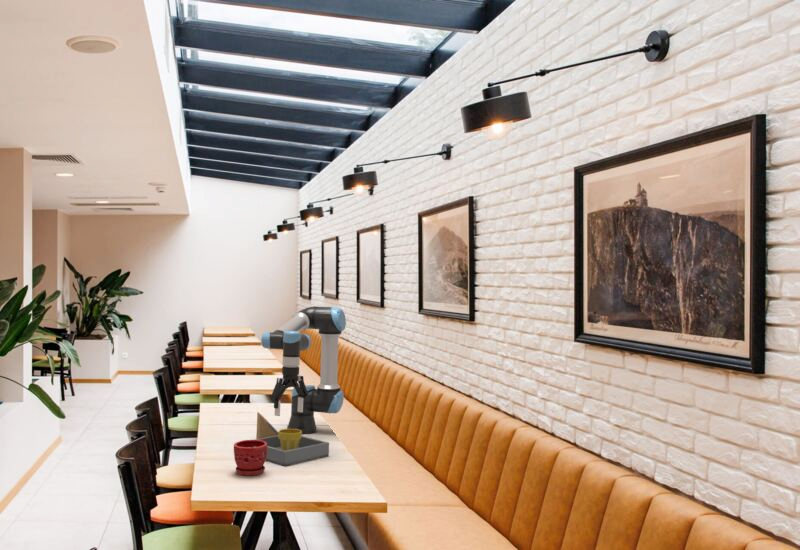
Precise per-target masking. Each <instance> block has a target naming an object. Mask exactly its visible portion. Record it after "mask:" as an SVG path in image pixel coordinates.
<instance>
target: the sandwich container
mask: <svg viewBox="0 0 800 550" xmlns="http://www.w3.org/2000/svg"><path fill="white" fill-rule="evenodd" d="M256 413H257V414H256V415H257V416H256V417H257V418H256V437H255V439H260V438H266V437H271V436H276V435H278V431H279V430H277V429H276V428H275V427H274V426H273V425H272V424H271V423H270V422H269V421H268V420H267V419H266V418H265V417H264V416H263V415H262V414H261V413H260V412H259V411H257V412H256Z"/></svg>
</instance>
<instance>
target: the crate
mask: <svg viewBox="0 0 800 550" xmlns="http://www.w3.org/2000/svg"><path fill="white" fill-rule="evenodd" d="M254 440H261V441H265V442H266V443H267V456H266V461H265V462H268V461H269V463H271V462H272V464H274V465H275V464H276V465H278V466H283V467H289V466H291V465H297V464H300V463H304V462H309V461H315V460H318V458H319V459H323V458H327V457H329V455H330V453H329V452H330V442H328V441H325V440H324V441H323V440H320V439H316V438H311V437H307V436H303V435H302V438H301V439H300V442H299V446H298V448H296V449H292V450H287V451H285V450H281V444H280V439H279V438H278V435H276V436H271V437H266V438H260V439H256V438H254ZM254 447H256V446H254ZM263 456H264V452H263ZM322 457H323V458H322Z"/></svg>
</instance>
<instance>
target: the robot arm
mask: <svg viewBox="0 0 800 550" xmlns="http://www.w3.org/2000/svg"><path fill="white" fill-rule="evenodd" d="M345 314H346V313H345V312H344V310H343V309H342V308H341V307H334V306H314V305H313V306H309V307H306V308H302V309H301V310H299V311H297V312H295V313H294V314H293V315H292V318H291V319H289V320H288V321H287V322H285V323H284V324H282V325H281V326H279V327H278V328H277V329H276V330H275V329H274V331H273V332H270V331H269V332H268V331H267V332H266V331H265V332H263V333H262V335H261V340H260V342H261V347H262V348H263V349H269V350H281V351H282V362H281V363H282V365H283V366H282V367H281V368H282V369H281V374H282V378H281V377H276V383H275V386H274V388H273V390H272V393H271V395H270V398H269V399H270V400H272V401H273V409H274V416H276V417H280V416H281V398H282V396H283V395H284V393H285V391H286V390H287V389H288V388H292V393H291V407H290V408H291V410H290V411H291V412H290V413H291V414H290V417H289V420H288V424H287V426H286V429H298V430H301V431H302V435H305V434H306V435H307V434H308V435H309V434H314V433H317V425H316V421H315V417H314V416H315V413H325V414H338V413H339V412H340V410H341V409H342V407H343V404H344V399H345V396H344V395H345V394H344V391H343V390H341V386H340V385H339V384H338V371H339V370H338V366H339V365H338V362H339V361H338V360H339V337H340V336H341V335H342V332H343V331H345V329H346V324H347V319H346V315H345ZM309 329H310V330H318V335H319V336H320V337H321V339H320V341H321V342H320V343H321V346H320V347H321V348H320V352H321V353H320V383H319V384H318V385H317V386H315V385H314V384H313V385H306V384H305V381H304V380H305V379H304V376H303V375H300V365H301V364H300V362H301V361H300V360H301V359H300V358H301V357H300V356H301V355H300V354H301V352H304V351H306V350H308V349H309V348H310V347H311V345H312V339H311V337H310V335H308V334H305V333H301V331H305V330H309ZM316 387H317V388H316Z"/></svg>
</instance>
